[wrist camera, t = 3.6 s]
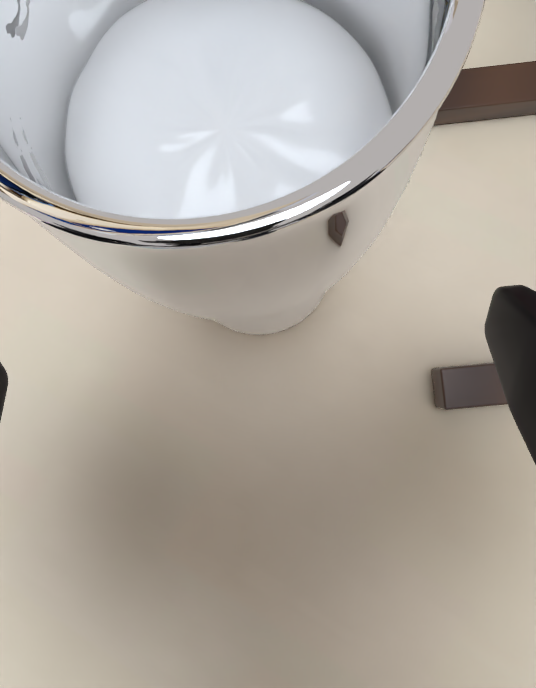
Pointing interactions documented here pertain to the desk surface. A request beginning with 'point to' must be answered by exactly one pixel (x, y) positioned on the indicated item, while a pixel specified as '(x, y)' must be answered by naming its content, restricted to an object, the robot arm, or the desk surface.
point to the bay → (469, 105)
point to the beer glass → (222, 138)
